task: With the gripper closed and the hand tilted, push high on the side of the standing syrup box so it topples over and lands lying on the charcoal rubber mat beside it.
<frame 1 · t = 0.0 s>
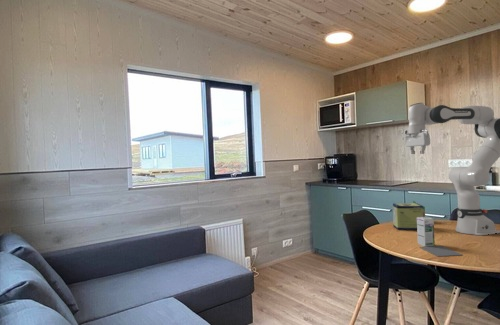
hand: (417, 153, 188), 48 cm above the table, tool pointing down, fingers open, 8 cm apart
mat: (440, 251, 156), on the table
protein box: (407, 228, 205), on the table
syrup box: (425, 245, 167), on the table
chalk box: (416, 222, 222), on the table
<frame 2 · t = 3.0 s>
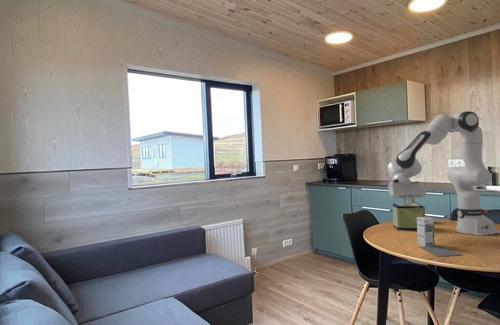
hand: (413, 202, 178), 21 cm above the table, tool tilted 45°, fingers closed
nothing on the table moved.
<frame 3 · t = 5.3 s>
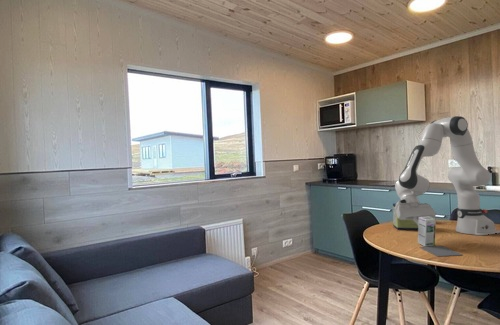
hand: (421, 224, 170), 10 cm above the table, tool tilted 45°, fingers closed
syrup box: (425, 244, 167), on the table, touching gripper
everything else where it was.
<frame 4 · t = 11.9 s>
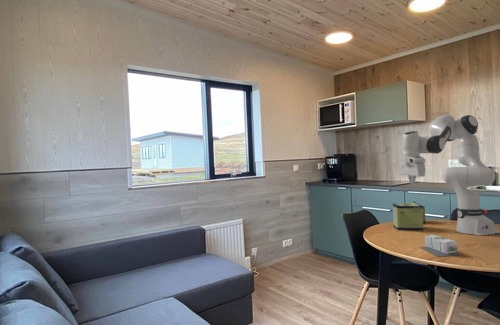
hand: (412, 183, 182), 31 cm above the table, tool pointing down, fingers closed
syrup box: (429, 240, 165), point 3 cm above the table, touching mat
everything else where it was.
at the end: syrup box tilted 90°; syrup box inside the target area (1.8 cm from its centre), point 3.3 cm above the table; syrup box touching mat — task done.
